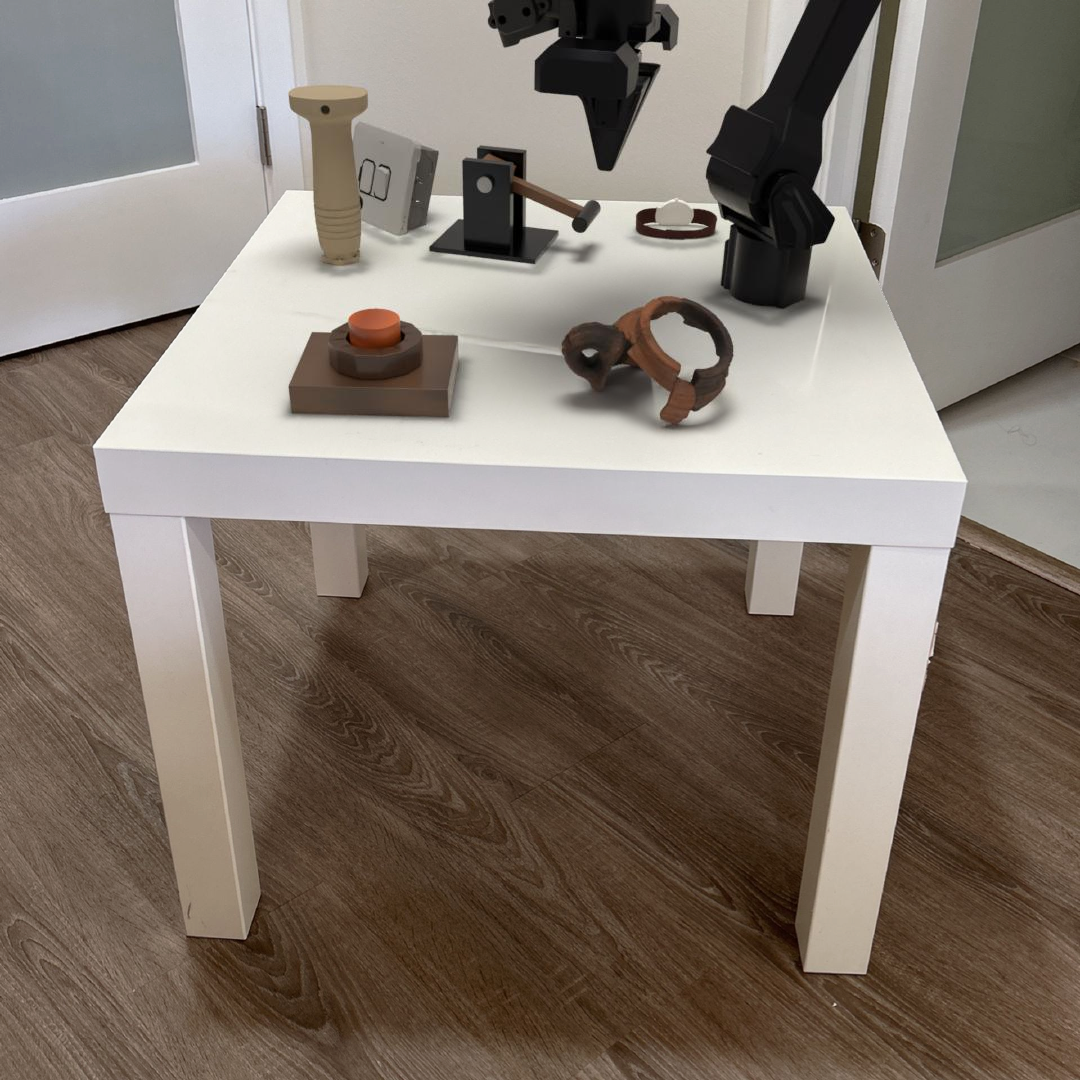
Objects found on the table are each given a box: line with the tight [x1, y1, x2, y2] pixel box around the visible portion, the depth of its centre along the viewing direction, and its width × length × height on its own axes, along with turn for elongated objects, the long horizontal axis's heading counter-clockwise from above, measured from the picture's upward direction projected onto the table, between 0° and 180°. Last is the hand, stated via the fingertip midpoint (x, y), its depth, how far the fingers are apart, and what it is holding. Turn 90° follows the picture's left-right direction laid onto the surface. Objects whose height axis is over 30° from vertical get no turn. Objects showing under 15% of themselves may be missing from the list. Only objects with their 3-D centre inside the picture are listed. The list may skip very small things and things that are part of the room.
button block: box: [288, 319, 460, 418], centre depth 85 cm, size 11×9×4 cm
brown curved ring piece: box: [561, 295, 734, 425], centre depth 84 cm, size 12×10×8 cm
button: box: [347, 308, 401, 349], centre depth 84 cm, size 4×4×2 cm
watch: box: [635, 197, 718, 240], centre depth 112 cm, size 8×5×4 cm, turn 91°
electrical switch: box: [352, 120, 440, 237], centre depth 112 cm, size 9×5×9 cm, turn 43°
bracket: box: [428, 144, 560, 265], centre depth 107 cm, size 10×8×9 cm
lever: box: [483, 154, 602, 234], centre depth 105 cm, size 11×5×2 cm, turn 73°
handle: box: [287, 84, 369, 267], centre depth 101 cm, size 5×6×15 cm
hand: (605, 169), depth 87 cm, fingers closed
